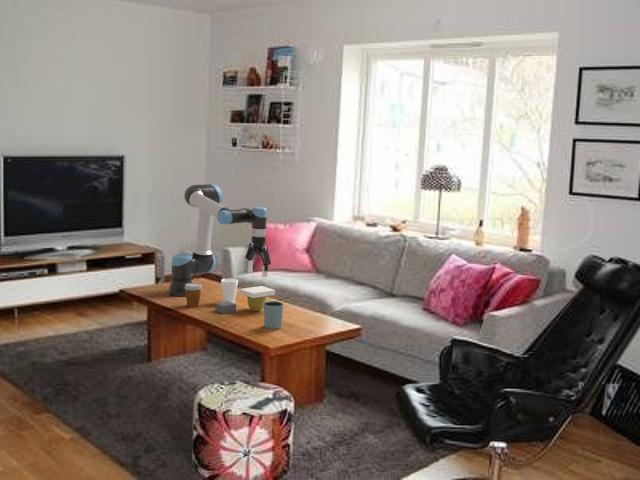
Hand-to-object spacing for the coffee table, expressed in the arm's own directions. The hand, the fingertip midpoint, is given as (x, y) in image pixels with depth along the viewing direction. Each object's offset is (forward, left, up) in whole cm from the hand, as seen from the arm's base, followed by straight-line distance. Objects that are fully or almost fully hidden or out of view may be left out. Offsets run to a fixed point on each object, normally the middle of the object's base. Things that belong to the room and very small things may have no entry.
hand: (257, 274), depth 394 cm
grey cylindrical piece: (+31, -12, -20) cm, 39 cm away
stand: (-7, -15, -20) cm, 26 cm away
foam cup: (-21, -4, -20) cm, 29 cm away
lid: (0, 0, -11) cm, 11 cm away
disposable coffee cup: (-25, -25, -20) cm, 41 cm away
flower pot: (0, 0, -20) cm, 20 cm away
